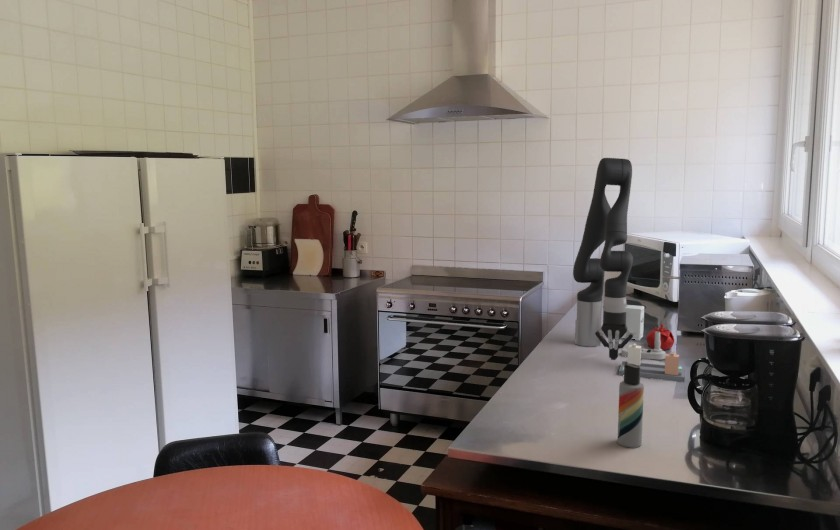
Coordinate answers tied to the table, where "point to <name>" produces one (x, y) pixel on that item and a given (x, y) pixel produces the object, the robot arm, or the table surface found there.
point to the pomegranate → (661, 338)
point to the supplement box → (635, 321)
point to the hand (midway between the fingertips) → (613, 359)
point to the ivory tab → (634, 354)
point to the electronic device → (650, 350)
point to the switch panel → (656, 372)
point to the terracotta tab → (671, 364)
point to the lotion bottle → (630, 408)
